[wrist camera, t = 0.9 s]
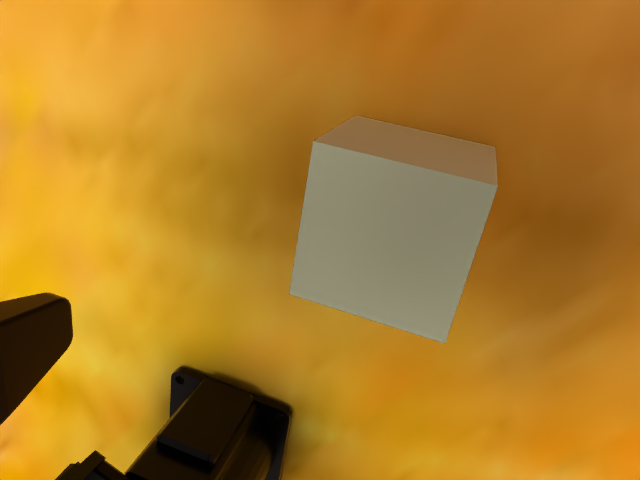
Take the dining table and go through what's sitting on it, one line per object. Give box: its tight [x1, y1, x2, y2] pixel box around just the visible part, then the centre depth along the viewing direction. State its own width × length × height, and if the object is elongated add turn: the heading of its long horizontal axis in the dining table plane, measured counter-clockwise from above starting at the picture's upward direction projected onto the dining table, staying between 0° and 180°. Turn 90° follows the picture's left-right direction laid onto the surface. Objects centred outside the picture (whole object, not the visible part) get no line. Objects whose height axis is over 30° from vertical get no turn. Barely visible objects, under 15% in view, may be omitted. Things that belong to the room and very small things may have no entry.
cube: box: [289, 115, 498, 344], centre depth 16 cm, size 5×5×5 cm
